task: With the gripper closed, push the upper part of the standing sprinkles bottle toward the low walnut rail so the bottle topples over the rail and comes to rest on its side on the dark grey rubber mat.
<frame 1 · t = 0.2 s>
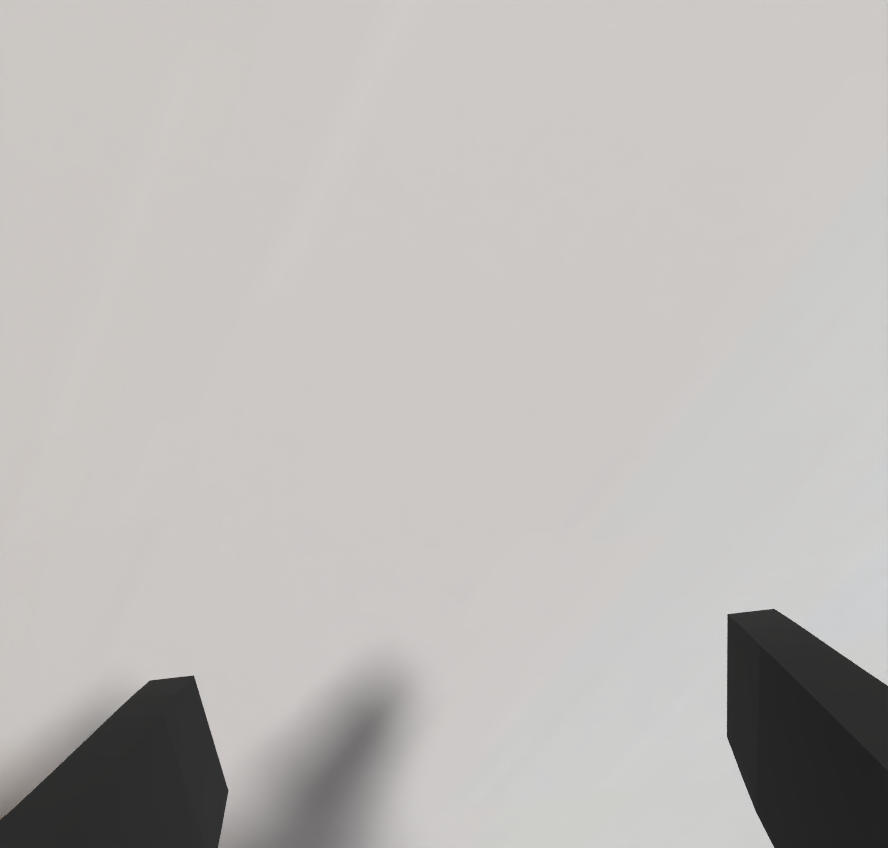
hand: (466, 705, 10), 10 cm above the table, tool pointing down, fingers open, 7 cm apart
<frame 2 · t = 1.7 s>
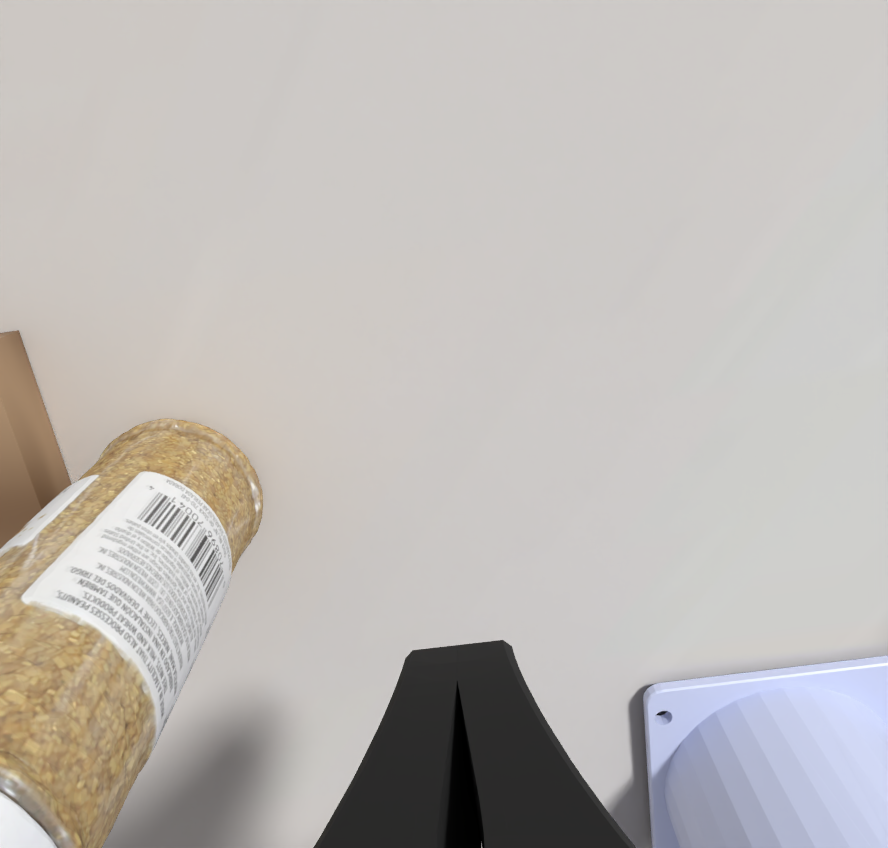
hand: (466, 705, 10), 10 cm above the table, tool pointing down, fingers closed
sprinkles bottle: (187, 490, 21), on the table
walnut rail: (53, 511, 21), on the table
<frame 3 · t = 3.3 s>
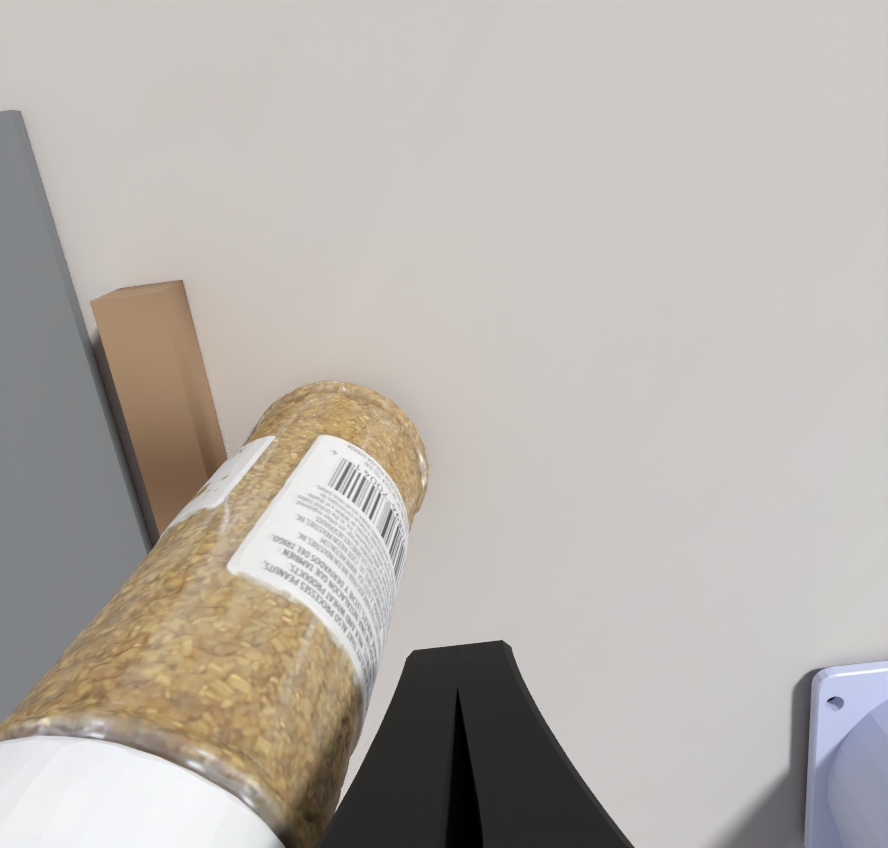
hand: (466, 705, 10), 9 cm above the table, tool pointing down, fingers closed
sprinkles bottle: (345, 460, 19), on the table
walnut rail: (202, 477, 19), on the table
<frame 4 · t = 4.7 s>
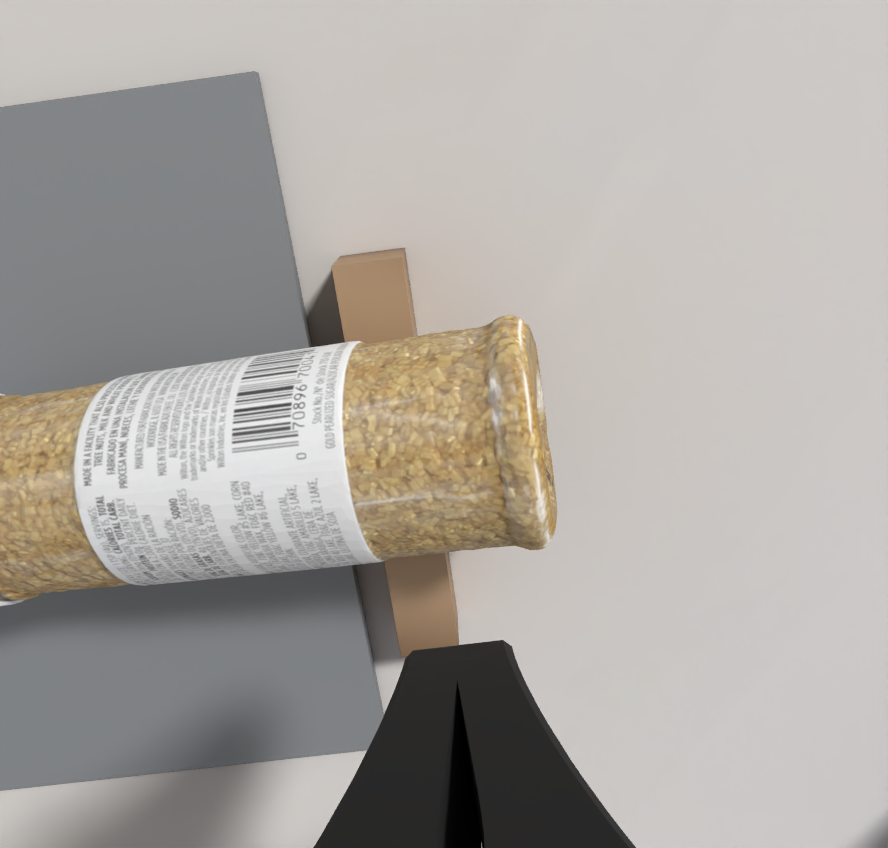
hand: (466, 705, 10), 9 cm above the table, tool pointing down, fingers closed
rubber mat: (84, 490, 19), on the table
sprinkles bottle: (556, 429, 14), point 4 cm above the table, touching rubber mat, walnut rail
walnut rail: (404, 451, 19), on the table
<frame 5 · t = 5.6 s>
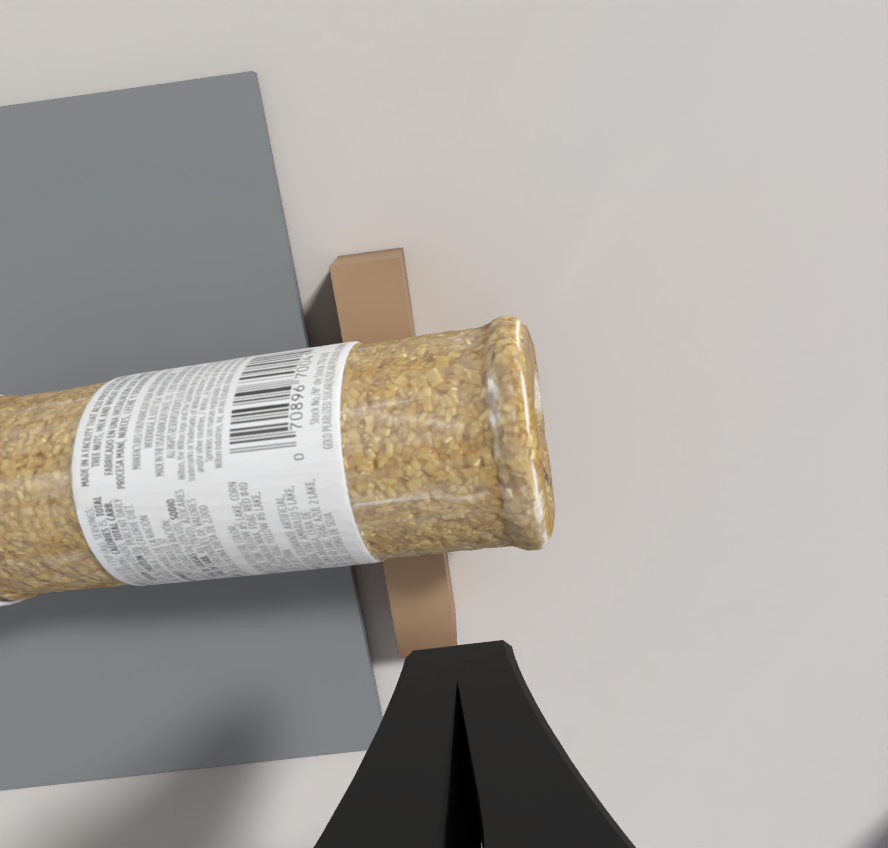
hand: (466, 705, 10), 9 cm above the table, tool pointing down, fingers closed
rubber mat: (82, 490, 19), on the table
sprinkles bottle: (554, 430, 14), point 4 cm above the table, touching rubber mat, walnut rail
walnut rail: (402, 451, 19), on the table
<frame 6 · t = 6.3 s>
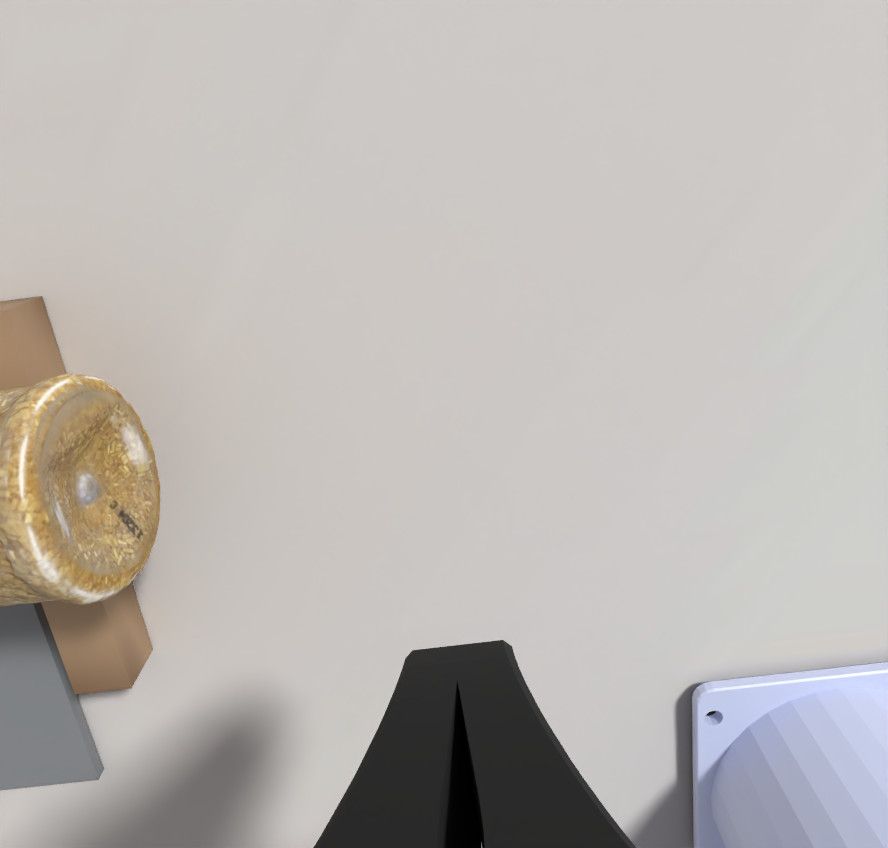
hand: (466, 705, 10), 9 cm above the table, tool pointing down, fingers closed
sprinkles bottle: (116, 485, 15), point 4 cm above the table, touching rubber mat, walnut rail
walnut rail: (73, 492, 19), on the table
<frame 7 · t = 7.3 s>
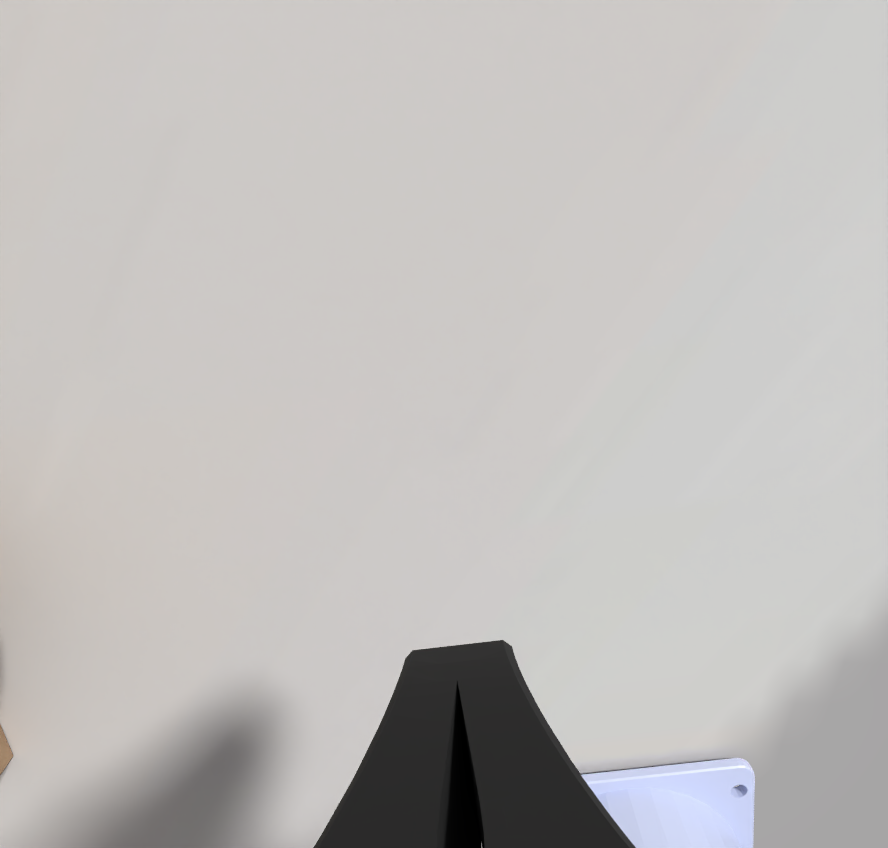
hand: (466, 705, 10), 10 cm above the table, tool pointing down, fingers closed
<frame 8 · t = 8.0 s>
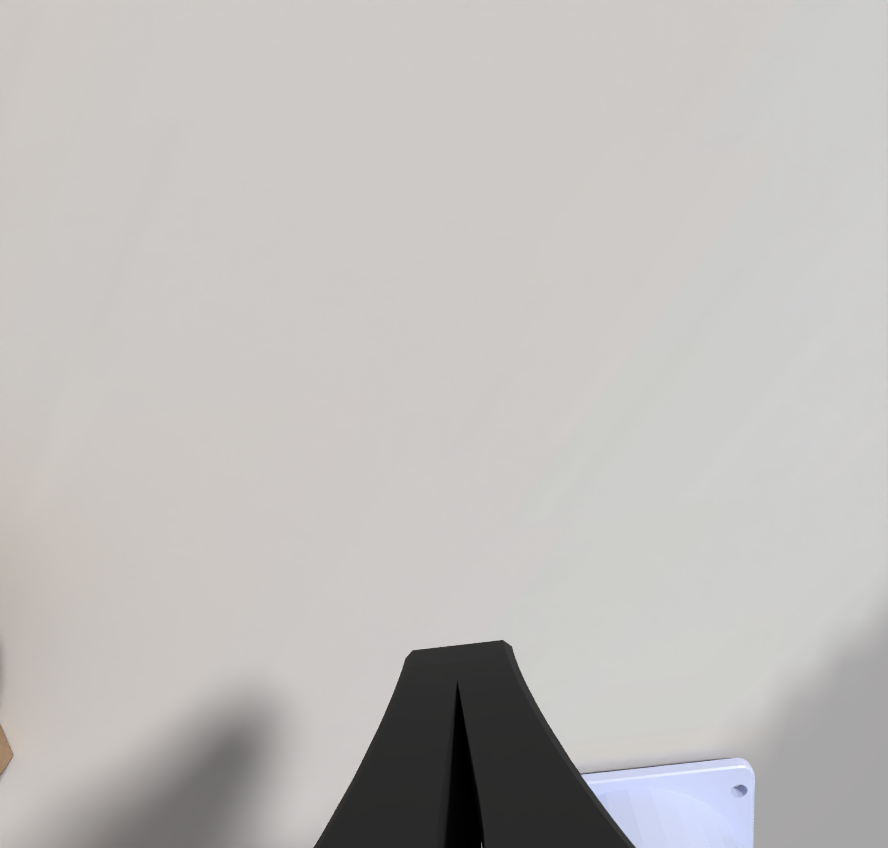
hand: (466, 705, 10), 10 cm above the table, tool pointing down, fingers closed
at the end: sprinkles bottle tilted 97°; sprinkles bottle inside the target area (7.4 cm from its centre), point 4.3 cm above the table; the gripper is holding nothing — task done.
